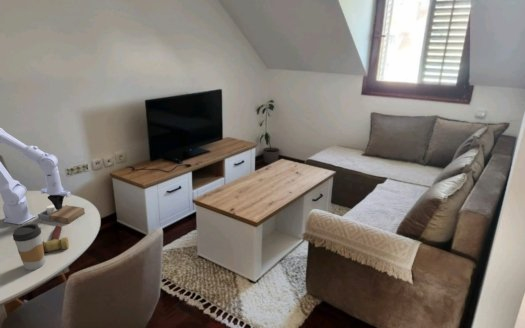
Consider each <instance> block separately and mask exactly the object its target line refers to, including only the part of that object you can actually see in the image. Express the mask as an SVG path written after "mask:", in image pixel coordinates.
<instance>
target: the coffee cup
mask: <svg viewBox="0 0 525 328" xmlns="http://www.w3.org/2000/svg"><path fill="white" fill-rule="evenodd" d="M12 239H13V241H14V243H15V245H16V248H17V251H18V254H19V257H20V260H21V261H22V263H23V267H24V268H25V269H26V270H28V271H33V270H38V269H40V268H41V267H43V266H44V265H45V262H46V258H45V253H44V249H43V243H42V241H43V240H42V239H43V238H42V230H41V228H40V226H39V225H37V224H33V223H28V224H24V225H20V226H19V227H17V228H15V229H14V230H13V234H12Z"/></svg>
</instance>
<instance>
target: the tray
mask: <svg viewBox="0 0 525 328" xmlns="http://www.w3.org/2000/svg"><path fill="white" fill-rule="evenodd" d="M64 206H65V205H62V207H64ZM37 217H38V220H42V219H44V220H43V221H48V220H49V221H48V222H51V221H50V217H49V215H48V214H47V209H45V210H43V211H41V212H40V213H38V214H37Z"/></svg>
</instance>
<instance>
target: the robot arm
mask: <svg viewBox="0 0 525 328" xmlns="http://www.w3.org/2000/svg"><path fill="white" fill-rule="evenodd" d="M0 143H2V144H4V145H6V146H9V147H11V148H12V149H14V150H17V151H19V152H21V153H22V156H23V157H24V158H26V159H27V160H30V161H31V162H33V163H34V164H37V165H38V167H39V168H40V169H41V170H42V172H43V176H44V179H45V185H46V187H44V188H41V189H40V193H41V195H42V194H47V195H48V196H47V199H48V201H50V202H51V203H52V204H53V205H54V206H55V208H56V210H60V209H61V208H62V206H63V202H64V199H65V198H69V197H72V194H71V191H69V190H66V189H64V186H62V180H61V176H60V172H59V167H58V164H59V159H58V157H57V156H56V155H55V154H53V153H49V152H44V151H43V150H41V149H39V146H37V145H26V143H24V142H22V141H21V140H19V139H17V138H15V137H14V136H13V135H11V134H9V133H8V132H6V131H5V129H3V128H2V127H0ZM27 193H28V190H27V187H26V186H24V184H21V182H20V181H19V180H17V179H14V178H13V177H12V176H11V174H10V173H9V171H8V170H7V169H6V168H5V166H4V164H3V163H2V162H1V161H0V195H1V199H2V201H3V205H2V212H3V215H4V218H5V219H4V220H3V221H4V223H8V224H9V223H10V224H15V225H22V224H24V223H26V222H28V221H29V220H32V219H33V218H35V217H36V215H34V214H31V213H30V209H29V208H30V207H29V205H28V200H27V197H26V195H27Z"/></svg>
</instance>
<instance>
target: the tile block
mask: <svg viewBox="0 0 525 328" xmlns="http://www.w3.org/2000/svg"><path fill="white" fill-rule="evenodd" d="M45 210H47V214H48V215H50V214H52V213H53V212H55V211H57V210H56V208H55V206H54V205H53V203H52V204H50V205H47V206H46V207H45Z"/></svg>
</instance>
